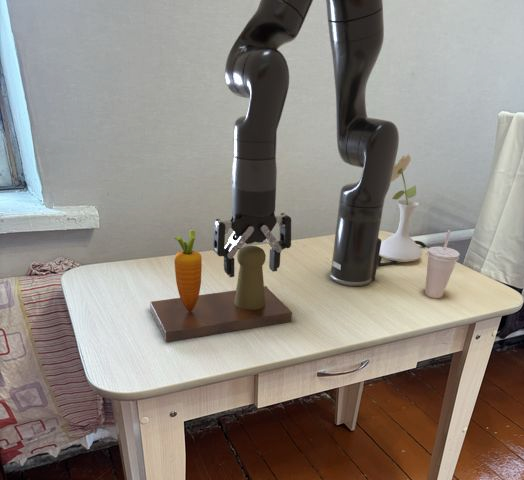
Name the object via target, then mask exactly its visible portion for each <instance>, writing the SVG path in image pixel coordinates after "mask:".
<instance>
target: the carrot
mask: <svg viewBox="0 0 524 480" xmlns="http://www.w3.org/2000/svg"><path fill="white" fill-rule="evenodd" d="M195 235H196V231H195V230H194V229H190V230H189V237H188V242H187V241H186V240H183V238H182V237H181V236H178V235H175V236H174V239H175V240H176V241H177V243H179V246H180V247H181V249H182V250H180V251H178V252H177V253H175V256H174V274H175V280H176V281H175V282H176V285H177V286H176V288H177V291H178V294H179V298H181V300H182V303H183V305H184V306H185V308H186V309H187V310H188V311H189V312H191V311H192V310H193V309H194V307H195V305H196V303H197V300H198V297H199V295H200V290H201V284H202V266H203V265H202V263H203V262H202V260H203V259H202V258H203V257H202V254H201V253H200V252H198V251H195V250H193V248H194V243H195V240H196V238H195V237H196V236H195Z"/></svg>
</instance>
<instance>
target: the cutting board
mask: <svg viewBox="0 0 524 480" xmlns="http://www.w3.org/2000/svg"><path fill="white" fill-rule="evenodd" d="M264 293H265V306H264V307H262V308H260V309H255V310H247V309H242V308H239V307H237V306H236V305H235V304H234V300H235V294H236V289H235V290H228V291H220V292H213V293H206V294H199V297H198V300H197V303H196V305H195V307H194V309H193V310H192V311H191V312H189V311H188V310H187V309H186V308H185V306H184V305H183V303H182V300H181V298H180V297H175V298H169V299H168V298H167V299H161V300H153V301H149V306H150V307H149V309H150V313H151V315H152V317H153V318H154V321H155V323H156V324H157V326H158V328H159V331H160V333H161V335H162V336H163V338H164V341H165V343H170V342H175V341H176V342H177V341H182V340H188V339H193V338H200V337H205V336H206V337H207V336H212V335H217V334H225V333H231V332H236V331H237V332H238V331H244V330H248V329H254V328H261V327H267V326H273V325H280V324H285V323H292V320H293V311H291V309H290V308H288V307H287V306H286V305H285V304H284V302H282V301H281V300H280V299H279V298H278V296H276V295H275V294H274V293H273V291H271V290H270V289H269V288H268V287H267V286H266V285H264Z"/></svg>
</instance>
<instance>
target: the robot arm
mask: <svg viewBox="0 0 524 480" xmlns="http://www.w3.org/2000/svg"><path fill="white" fill-rule="evenodd" d="M313 1H314V0H260V1H259V4H258V7H257V9H256V11H255V12H254V14H253V15H252V17H250V19H249V20H248V22H247V23H246V24H245V26H244V27H243V29H242V31H241V32H240V34H239V35H238V37H237V38H236V39H235V41H234V43H233V45H232V47H231V48H230V50H229V52H228V56H227V57H226V61H225V68H224V78H225V79H224V80H225V82H226V85H227V88H228V89H229V90H230V92H231V93H232V94H234V95H235V96H238V97H240V98H246V99H249V103H248V109H247V113H246V115H243V116H240V117H238V118H237V119H236V120H235V121H234V125H233V159H232V167H231V179H230V180H231V213H232V214H231V218H230V220H221V219H219V218H216V219H214V222H213V244H212V245H213V246H212V248H213V249H212V251H213V252H214V253H215V254H216V255H217V256H218V257H223V271H224V273H225V274H226V275H227V276H228V277H229V278H235V255H236V253H238V251H239V250H240V249H241V248H242V247H244V244H246V245H250V244H253V243H263V242H264V241H266V242H267V244H268V245H269V246H270V248H271V249H269V261H268V262H269V263H268V268H269V270H271V272H272V273H274V272H277V271H278V269H279V268H280V266H281V252H282V251H283V250H285V249H290V248H291V247H292V217H291V216H289V215H288V214H286V213H285V212H281V213H280V214H279V215H275V212H276V200H277V199H276V198H277V177H278V176H277V175H278V170H277V169H278V168H277V142H278V133H277V132H278V128H279V126H280V121H281V118H282V116H283V115H282V114H283V111H284V107H285V104H286V101H287V96H288V93H289V89H290V88H289V87H290V69H289V65H288V62H287V59H286V57H285V56H284V54H283V53H282V52H281V51H280V50H278V49H279V48H280V47H282V46H284V45H287V44H289V43H291V42H293V41H294V40H296V38H297V37H298V35H299V34H300V31H301V29H302V27H303V25H304V23H305V20H306V18H307V16H308V13H309V11H310V9H311V6H312V4H313ZM325 4H326V15H327V16H326V17H327V26H328V34H329V42H330V50H331V56H332V64H333V78H334V87H335V88H334V89H335V107H336V108H335V109H336V114H335V115H336V116H335V117H336V143H337V145H336V146H337V150H338V154H339V157H340V159H341V161H343V162H344V163H345V164H347V165H349V166H353V167H356V168H361V169H362V171H361V175H360V178H359V180H358V181H357V182H352V183H347V184H345V185H343V186H342V187H341V189H340V192H339V193H340V194H339V201H338V209H337V217H336V224H335V225H336V226H335V235H334V242H333V251H332V259H331V267H330V272H329V278H330V279H331V280H332V281H333V282H335V283H338V284H341V285H344V286H348V287H349V286H350V287H361V286H362V287H363V286H367V285H369V284H370V283H371V282H374V281H376V275H377V270H378V267H386V266H393V265H396V264H398V263H400V262H399V261H393V260H390V261H387V262H382V260H383V257H382V256H380V255H379V253H380V247H381V242H382V239H381V238H379V235H380V229H381V225H382V223H381V222H382V216H383V211H384V206H385V205H384V204H385V199H386V196H387V195H388V192H389V189H390V187H391V183H392V182H391V178H392V174H393V169H394V165H395V164H396V161H397V156H398V151H399V144H400V136H399V135H400V133H399V130H398V127H397V125H396V124H395V123H394V122H393V121H390V120H386V119H381V118H374V117H373V118H372V117H368V113H367V109H366V107H367V105H366V92H367V91H366V90H367V84H368V81H369V78H370V76H371V75H372V72H373V69H374V67H375V65H376V63H377V61H378V58H379V55H380V54H381V51H382V48H383V44H384V38H385V26H384V24H385V23H384V7H383V6H384V4H383V0H325ZM276 225H277V227H279V240H278V239H277V238H276V237H275V235H274V234H273V233H272V231H273V229H274V228H275V226H276ZM230 229H232V234H231V235H230V237H229V238H228V242H227V244H226V243H225V242H226V235H227V234H228V232H229V230H230ZM414 241H415V243H416V244H417V245H418V246H419V245H420V246H421V247H422V248H427V245H426V244H425V243H424V242H423V241H420V240H414ZM225 244H226V245H225Z"/></svg>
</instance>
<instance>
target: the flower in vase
mask: <svg viewBox="0 0 524 480" xmlns="http://www.w3.org/2000/svg"><path fill="white" fill-rule="evenodd" d="M411 159H412V156H411V155H410V153H407V154H406V155H405V154H403V155H402V156H401V157H400V158H399V160H398V162H397V163H395V165H394V169H393V174H392V178H391V183H392V182H393V181H394V182H395V180H396V179H398V178H399V177H400V176H401V177H402V182H403V187H404V188H403V189H404V190H399V191H397V192H396V193H394V195H393V196H392V200H398V201H397V202H396V203H397V205H398V207H399V215H400V216H399V223H398V228H397V230H396V232H395V233H393V234H392V235H391V236H388V237H387V238H385V239H384V240H381V247H380V253H379V255H380V256H381V258H384V259H386V260H389V261H399V262H398V263H405V262H406V263H407V262H414V261H417V260H419V259H420V258H421V257H422V256H423V251H422V248H421V247H420V246H419V244H416V243H415V241H416V240H414V239H413V238H412V237H411V236H410V234H409V224H410V221H411V217H412V215H413V213H414V211H415V210H416V208H417V207H418V206H419V205H420V204H419V202H417V201H413V200H409V199H410V198H413V197H416V195H417V186H416V185H413V186H411V187H409V188H407V185H406V180H405V175H404V171H406V169H407V167H408V166H409V164H410V162H411V161H412V160H411ZM403 196H405V199H400V198H401V197H403ZM399 199H400V200H399Z"/></svg>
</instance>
